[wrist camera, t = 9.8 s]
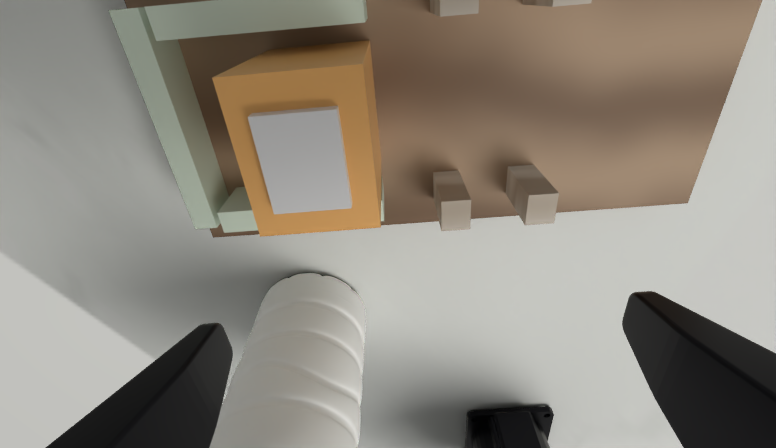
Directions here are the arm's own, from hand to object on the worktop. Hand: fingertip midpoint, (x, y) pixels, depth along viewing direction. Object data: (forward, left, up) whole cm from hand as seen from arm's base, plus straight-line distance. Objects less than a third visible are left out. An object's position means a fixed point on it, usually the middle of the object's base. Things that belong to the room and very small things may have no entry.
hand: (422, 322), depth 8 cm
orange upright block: (+2, +3, -11) cm, 11 cm away
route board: (+2, -2, -12) cm, 12 cm away
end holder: (+2, +5, -10) cm, 12 cm away
